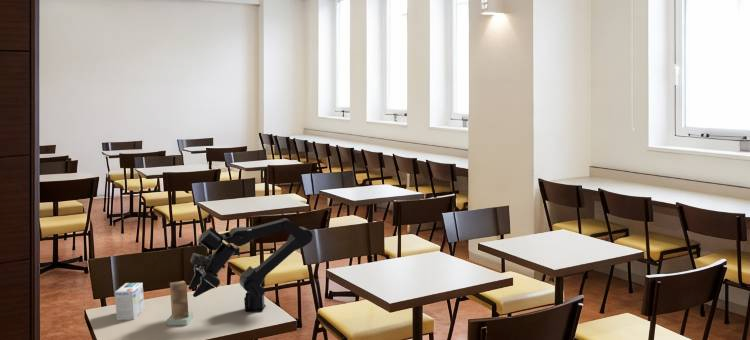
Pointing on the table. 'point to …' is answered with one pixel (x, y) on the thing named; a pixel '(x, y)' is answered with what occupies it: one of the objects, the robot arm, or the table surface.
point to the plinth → (179, 320)
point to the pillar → (179, 299)
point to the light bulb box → (129, 301)
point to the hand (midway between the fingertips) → (191, 292)
